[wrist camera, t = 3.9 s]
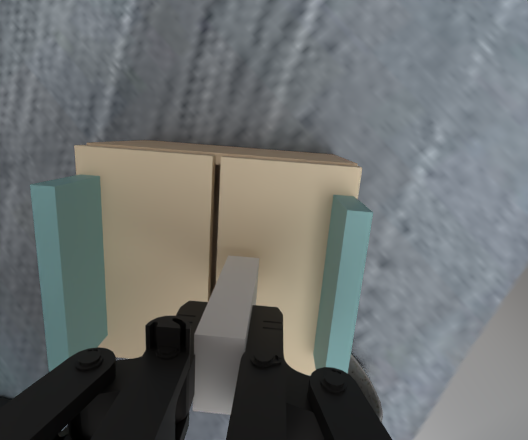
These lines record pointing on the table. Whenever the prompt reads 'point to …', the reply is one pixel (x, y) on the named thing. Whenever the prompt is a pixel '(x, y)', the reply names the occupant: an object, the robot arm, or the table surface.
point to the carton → (220, 152)
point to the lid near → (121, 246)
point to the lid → (299, 249)
